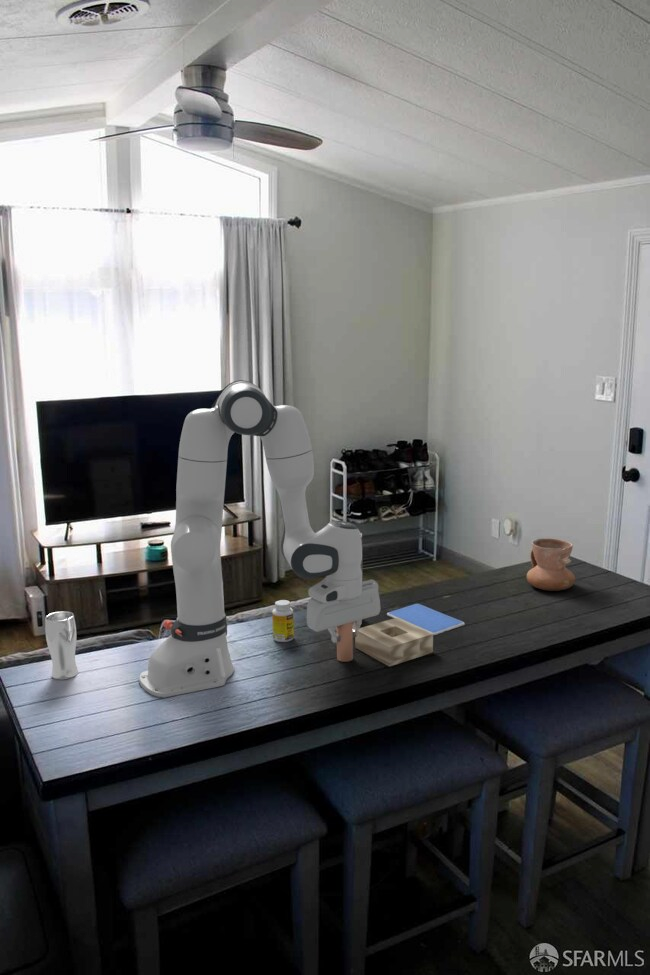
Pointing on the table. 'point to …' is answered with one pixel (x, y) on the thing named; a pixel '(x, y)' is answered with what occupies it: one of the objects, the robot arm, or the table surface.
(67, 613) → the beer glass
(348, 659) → the dowel
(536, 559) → the ceramic jug
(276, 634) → the supplement bottle
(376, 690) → the table surface
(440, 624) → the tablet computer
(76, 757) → the table surface
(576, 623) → the table surface
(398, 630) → the socket block
